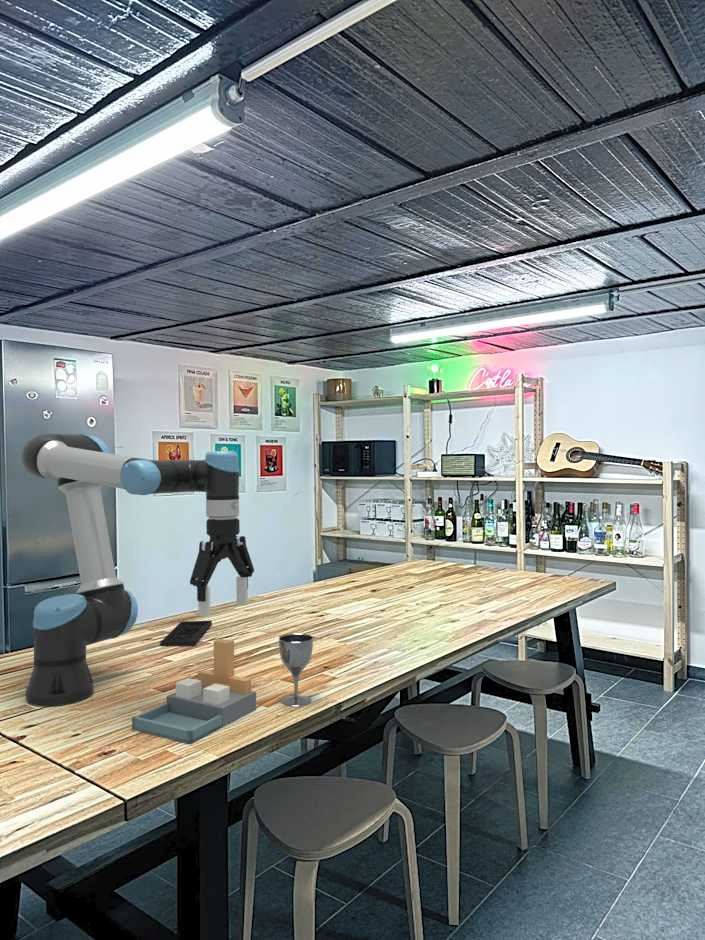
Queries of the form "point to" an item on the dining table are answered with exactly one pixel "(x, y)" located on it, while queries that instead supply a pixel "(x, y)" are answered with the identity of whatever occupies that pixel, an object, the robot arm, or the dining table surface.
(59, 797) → the dining table surface
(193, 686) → the white cube block
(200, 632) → the black shallow tray
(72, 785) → the dining table surface
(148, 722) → the blue-grey flat tray
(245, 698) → the grey drawer housing
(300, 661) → the wine glass
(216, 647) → the orange t-shaped block
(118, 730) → the dining table surface
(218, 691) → the white rectangular block
